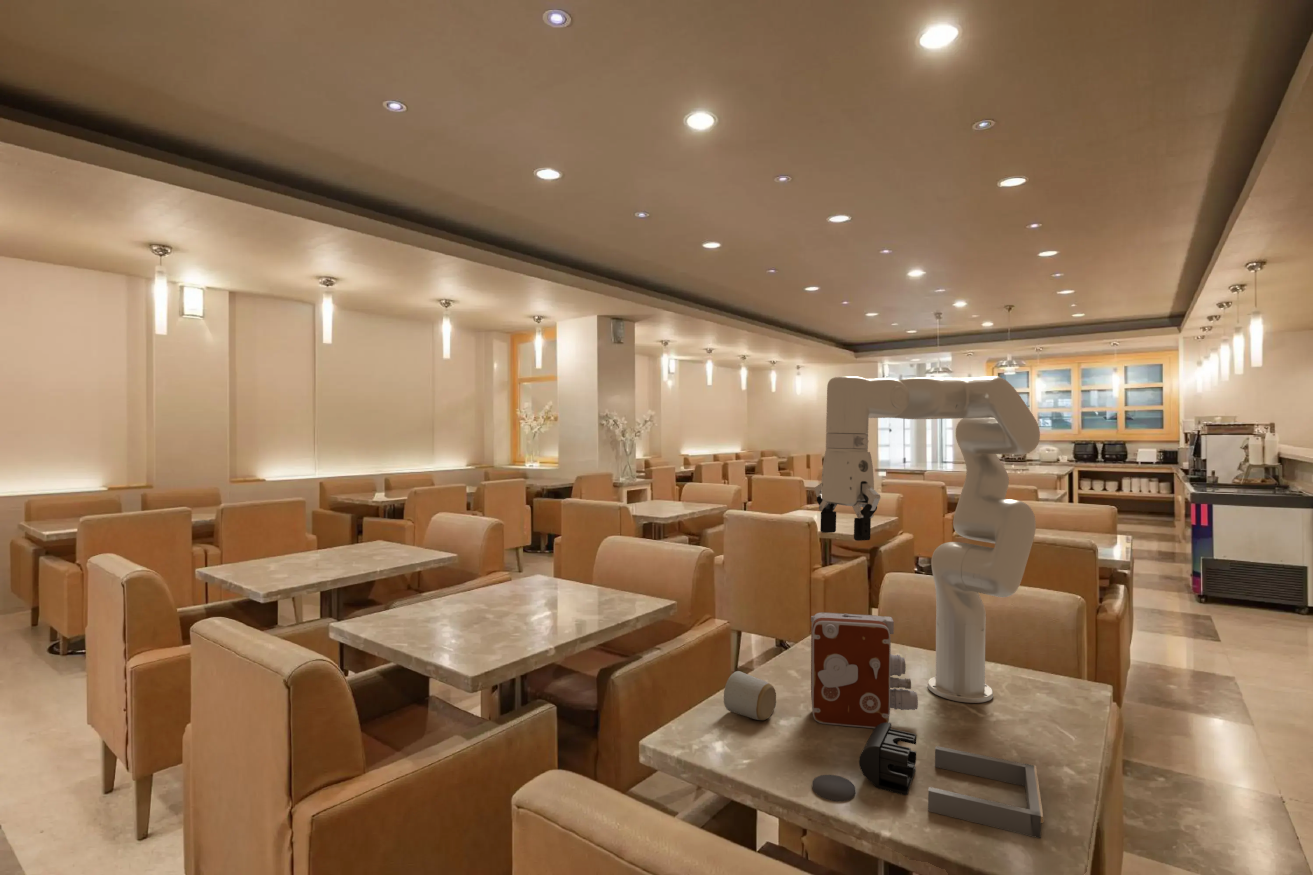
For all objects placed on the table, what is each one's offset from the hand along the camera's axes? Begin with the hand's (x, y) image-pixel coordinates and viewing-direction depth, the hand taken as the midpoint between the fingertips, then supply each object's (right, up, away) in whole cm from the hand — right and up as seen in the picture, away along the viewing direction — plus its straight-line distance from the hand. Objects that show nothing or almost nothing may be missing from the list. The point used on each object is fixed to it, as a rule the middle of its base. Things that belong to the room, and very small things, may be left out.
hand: (844, 536), depth 123 cm
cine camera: (+5, -36, +4) cm, 36 cm away
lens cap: (-7, -36, -21) cm, 42 cm away
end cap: (+2, -36, -17) cm, 40 cm away
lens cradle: (+14, -36, -22) cm, 45 cm away
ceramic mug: (-16, -36, +7) cm, 40 cm away
